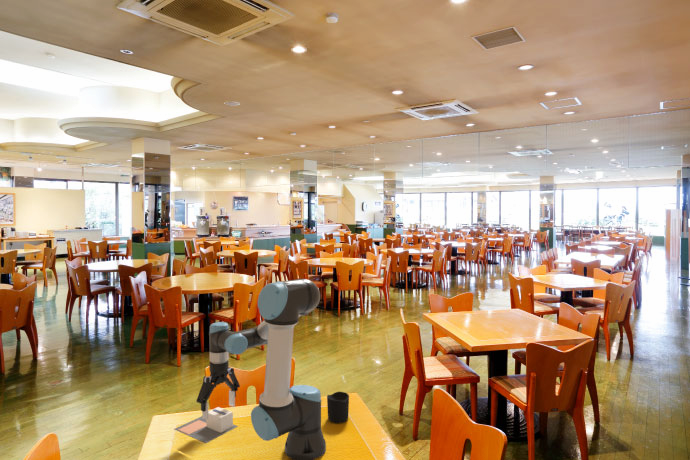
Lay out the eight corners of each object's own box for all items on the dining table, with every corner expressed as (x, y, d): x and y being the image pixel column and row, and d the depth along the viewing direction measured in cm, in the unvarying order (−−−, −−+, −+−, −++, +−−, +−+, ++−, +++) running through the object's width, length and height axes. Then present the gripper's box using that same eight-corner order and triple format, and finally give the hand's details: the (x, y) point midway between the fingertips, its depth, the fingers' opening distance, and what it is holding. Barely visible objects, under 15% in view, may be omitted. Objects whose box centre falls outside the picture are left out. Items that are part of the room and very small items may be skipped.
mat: (238, 427, 173) (238, 425, 173) (205, 444, 160) (205, 442, 160) (206, 415, 184) (206, 413, 184) (174, 430, 171) (174, 428, 171)
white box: (232, 426, 173) (232, 411, 172) (221, 432, 168) (220, 417, 167) (218, 421, 178) (218, 406, 177) (206, 426, 173) (206, 411, 172)
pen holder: (349, 424, 176) (349, 400, 176) (326, 424, 176) (326, 400, 176) (348, 414, 185) (348, 391, 185) (327, 414, 185) (327, 391, 185)
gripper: (236, 351, 185) (236, 399, 185) (186, 367, 164) (187, 421, 164) (248, 354, 180) (248, 403, 181) (199, 371, 160) (199, 426, 160)
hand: (219, 412), depth 173 cm, fingers open, 13 cm apart
